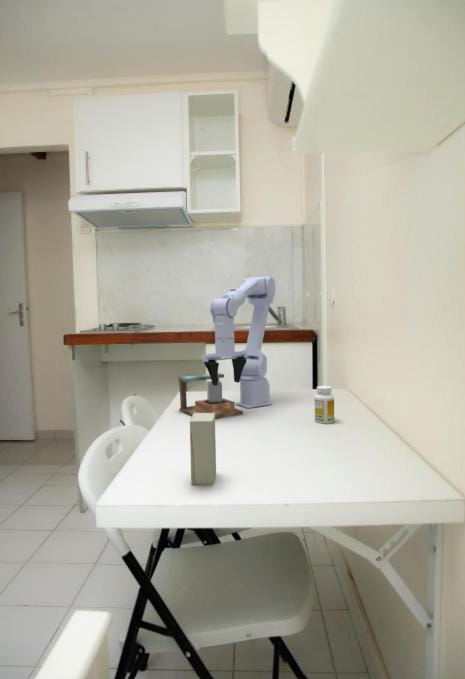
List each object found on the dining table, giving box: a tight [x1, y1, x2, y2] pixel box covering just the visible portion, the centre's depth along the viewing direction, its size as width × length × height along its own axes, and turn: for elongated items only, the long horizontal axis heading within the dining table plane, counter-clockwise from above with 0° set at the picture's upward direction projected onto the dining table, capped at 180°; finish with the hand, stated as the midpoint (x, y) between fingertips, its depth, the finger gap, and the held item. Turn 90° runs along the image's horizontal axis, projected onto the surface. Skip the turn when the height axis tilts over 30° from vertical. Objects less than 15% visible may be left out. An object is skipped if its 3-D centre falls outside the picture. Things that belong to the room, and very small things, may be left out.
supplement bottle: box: [314, 385, 335, 424], centre depth 123 cm, size 5×5×10 cm
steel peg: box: [206, 380, 223, 405], centre depth 134 cm, size 4×4×9 cm
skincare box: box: [189, 413, 217, 485], centre depth 83 cm, size 6×4×12 cm
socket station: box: [178, 372, 244, 420], centre depth 137 cm, size 14×16×11 cm
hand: (226, 383), depth 132 cm, fingers open, 7 cm apart
